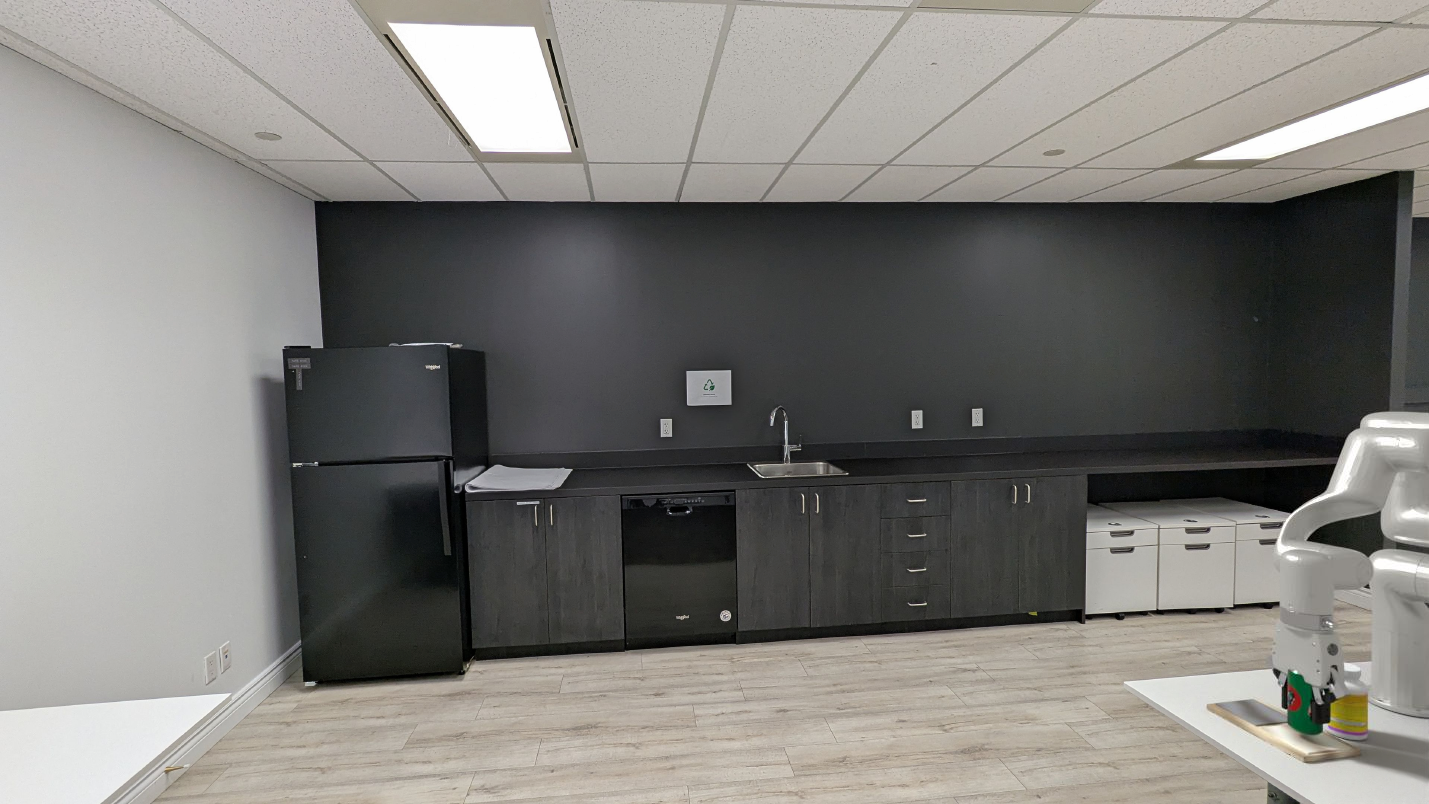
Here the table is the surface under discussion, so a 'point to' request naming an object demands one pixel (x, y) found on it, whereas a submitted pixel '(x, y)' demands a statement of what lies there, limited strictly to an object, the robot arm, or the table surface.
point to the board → (1282, 731)
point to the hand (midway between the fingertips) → (1305, 714)
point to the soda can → (1300, 704)
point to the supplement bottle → (1350, 708)
